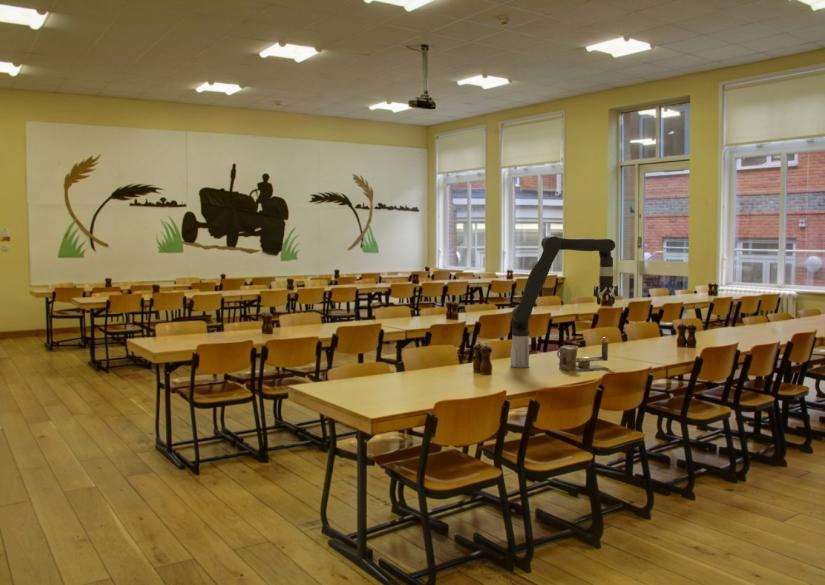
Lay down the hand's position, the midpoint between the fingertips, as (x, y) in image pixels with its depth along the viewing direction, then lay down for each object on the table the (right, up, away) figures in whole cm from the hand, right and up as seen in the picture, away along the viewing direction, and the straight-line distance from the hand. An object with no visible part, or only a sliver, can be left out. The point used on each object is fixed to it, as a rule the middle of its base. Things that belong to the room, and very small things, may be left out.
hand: (605, 304), depth 400 cm
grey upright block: (-24, -35, -12) cm, 44 cm away
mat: (-14, -35, -9) cm, 39 cm away
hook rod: (-10, -31, -7) cm, 33 cm away
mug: (-20, -34, +9) cm, 40 cm away
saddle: (-14, -35, -9) cm, 39 cm away
